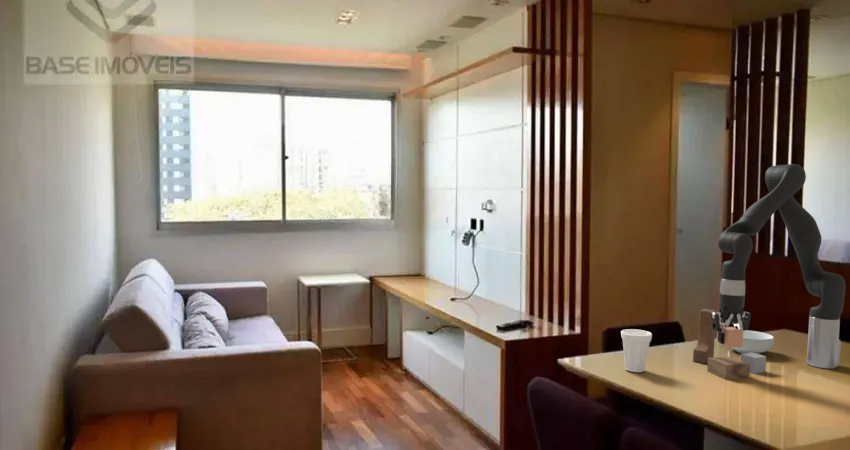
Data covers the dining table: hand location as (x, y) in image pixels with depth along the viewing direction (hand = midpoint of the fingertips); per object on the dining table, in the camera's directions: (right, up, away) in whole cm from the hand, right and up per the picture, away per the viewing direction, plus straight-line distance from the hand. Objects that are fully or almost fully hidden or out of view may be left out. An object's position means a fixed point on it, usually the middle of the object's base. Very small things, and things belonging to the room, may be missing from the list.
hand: (729, 342), depth 215 cm
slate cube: (+11, -11, +6) cm, 16 cm away
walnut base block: (0, -11, +1) cm, 11 cm away
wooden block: (-1, -10, +18) cm, 20 cm away
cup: (-30, -10, +3) cm, 32 cm away
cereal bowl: (+22, -9, +31) cm, 39 cm away
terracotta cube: (0, -1, 0) cm, 1 cm away
